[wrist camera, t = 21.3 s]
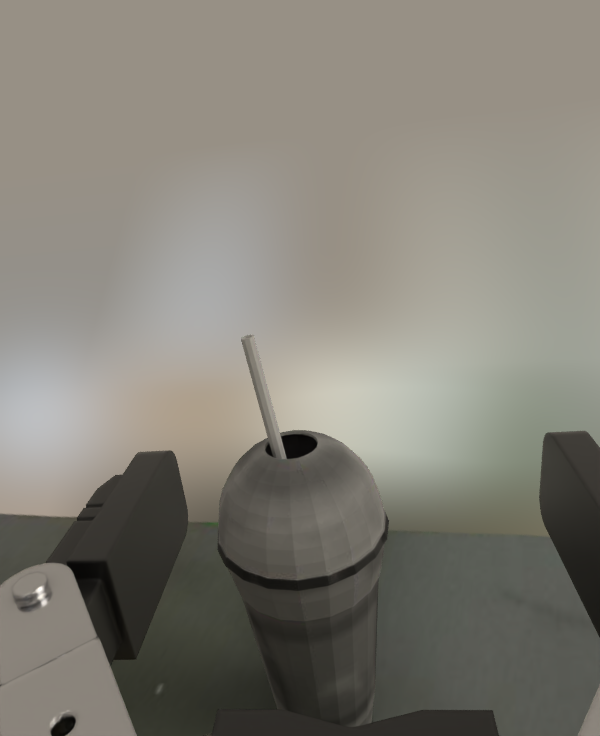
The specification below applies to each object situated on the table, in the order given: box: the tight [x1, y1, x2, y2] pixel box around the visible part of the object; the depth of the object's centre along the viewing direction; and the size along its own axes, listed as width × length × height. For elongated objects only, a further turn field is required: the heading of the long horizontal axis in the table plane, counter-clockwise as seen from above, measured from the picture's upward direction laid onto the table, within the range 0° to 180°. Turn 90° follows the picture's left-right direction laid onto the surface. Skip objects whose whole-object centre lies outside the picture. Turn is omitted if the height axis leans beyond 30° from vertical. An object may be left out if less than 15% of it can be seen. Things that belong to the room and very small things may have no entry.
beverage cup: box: [218, 335, 389, 727], centre depth 24 cm, size 7×7×20 cm
